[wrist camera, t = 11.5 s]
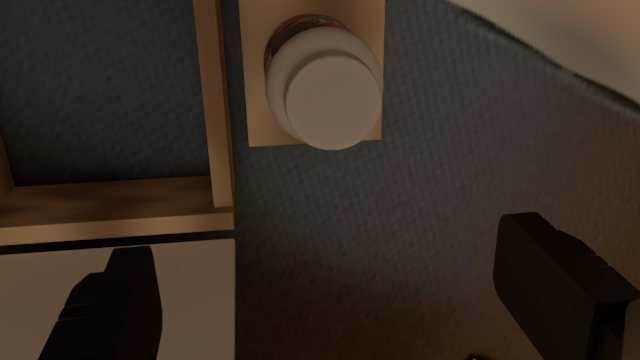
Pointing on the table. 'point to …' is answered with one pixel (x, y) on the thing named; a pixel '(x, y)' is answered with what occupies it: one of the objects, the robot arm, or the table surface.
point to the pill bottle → (322, 81)
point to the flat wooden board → (256, 27)
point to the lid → (174, 286)
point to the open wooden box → (144, 194)
